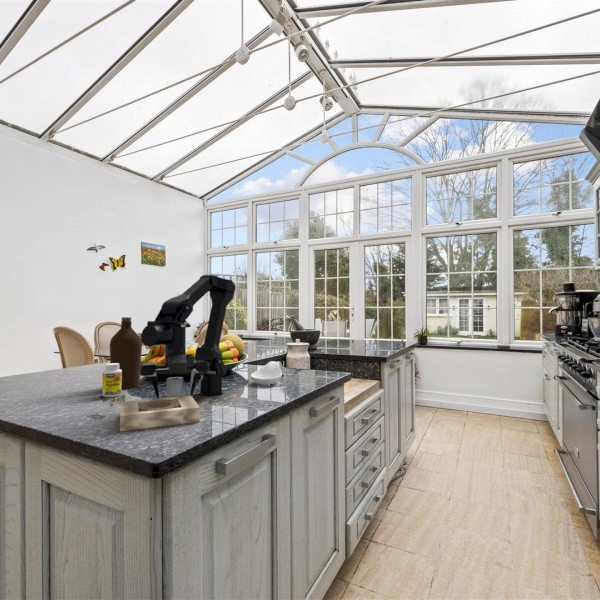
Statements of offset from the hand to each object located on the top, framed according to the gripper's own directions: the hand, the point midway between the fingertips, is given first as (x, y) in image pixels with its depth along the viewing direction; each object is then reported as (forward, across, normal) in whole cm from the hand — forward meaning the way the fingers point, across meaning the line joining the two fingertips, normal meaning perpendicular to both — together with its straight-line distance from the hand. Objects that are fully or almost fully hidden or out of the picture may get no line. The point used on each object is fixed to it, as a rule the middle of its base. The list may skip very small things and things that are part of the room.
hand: (174, 397), depth 108 cm
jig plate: (+2, -5, -11) cm, 12 cm away
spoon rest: (+3, +39, +24) cm, 46 cm away
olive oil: (+3, -13, +35) cm, 37 cm away
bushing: (+2, 0, 0) cm, 2 cm away
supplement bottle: (+3, -17, +22) cm, 28 cm away
